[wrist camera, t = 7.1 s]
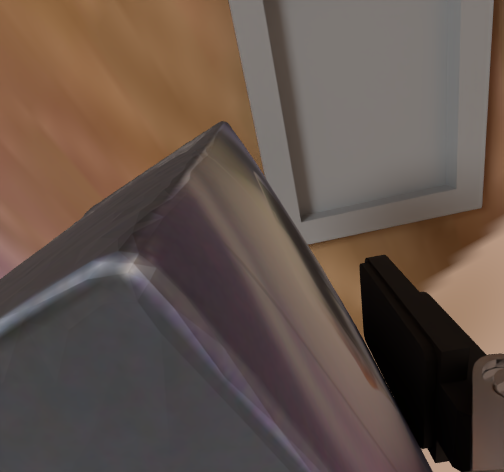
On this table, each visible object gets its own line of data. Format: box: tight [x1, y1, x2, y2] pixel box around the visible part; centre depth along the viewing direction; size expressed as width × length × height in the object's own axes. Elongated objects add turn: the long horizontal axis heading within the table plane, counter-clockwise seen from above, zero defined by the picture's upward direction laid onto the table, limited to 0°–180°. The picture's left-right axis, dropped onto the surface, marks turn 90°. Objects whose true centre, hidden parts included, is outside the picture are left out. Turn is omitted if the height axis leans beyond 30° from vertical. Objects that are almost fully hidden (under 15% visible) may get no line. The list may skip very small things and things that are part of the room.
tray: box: [228, 0, 494, 245], centre depth 23 cm, size 20×16×2 cm
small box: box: [0, 121, 432, 472], centre depth 8 cm, size 11×6×10 cm, turn 32°
